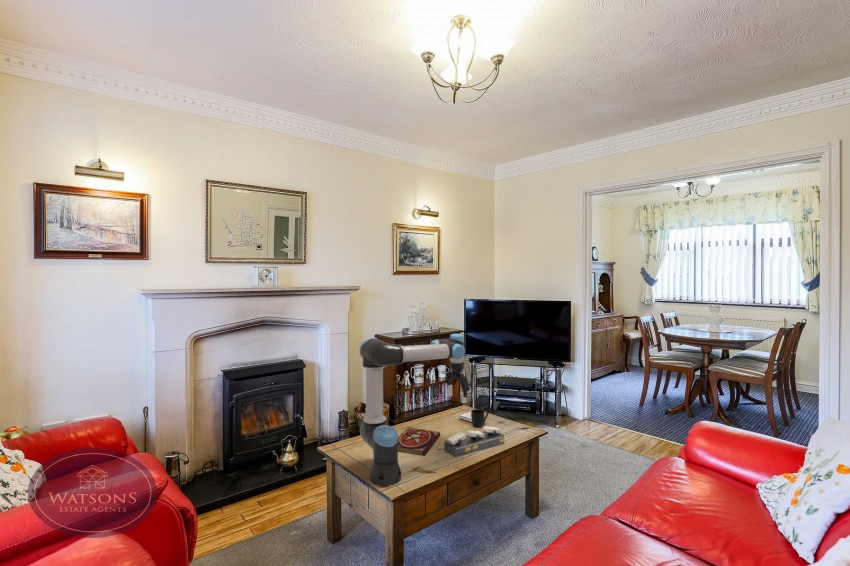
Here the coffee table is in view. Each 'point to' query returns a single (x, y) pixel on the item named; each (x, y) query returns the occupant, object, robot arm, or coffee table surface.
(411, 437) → the book
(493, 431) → the block
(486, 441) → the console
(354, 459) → the coffee table surface
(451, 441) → the block
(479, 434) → the white rectangular block
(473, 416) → the mug
